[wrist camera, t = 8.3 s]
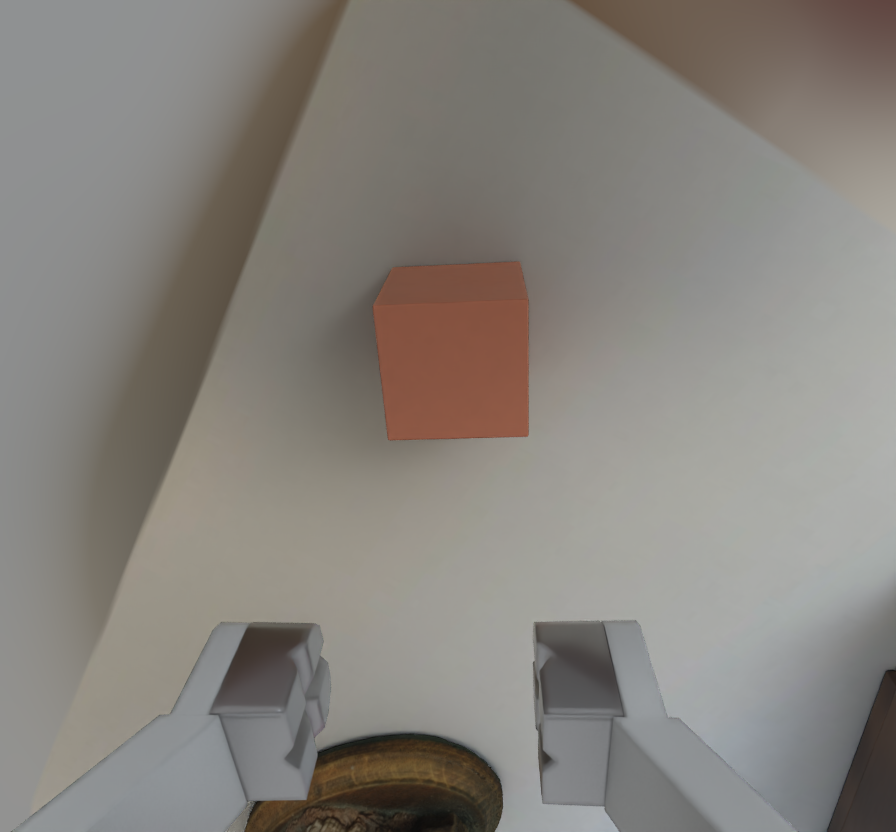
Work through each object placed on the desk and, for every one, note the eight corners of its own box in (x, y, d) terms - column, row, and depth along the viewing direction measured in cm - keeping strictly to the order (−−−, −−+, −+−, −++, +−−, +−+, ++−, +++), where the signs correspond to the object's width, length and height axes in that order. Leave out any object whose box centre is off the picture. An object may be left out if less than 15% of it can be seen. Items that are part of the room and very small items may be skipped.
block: (391, 266, 22) (371, 305, 18) (520, 261, 22) (528, 299, 18) (403, 383, 24) (387, 441, 20) (520, 379, 24) (528, 437, 20)
